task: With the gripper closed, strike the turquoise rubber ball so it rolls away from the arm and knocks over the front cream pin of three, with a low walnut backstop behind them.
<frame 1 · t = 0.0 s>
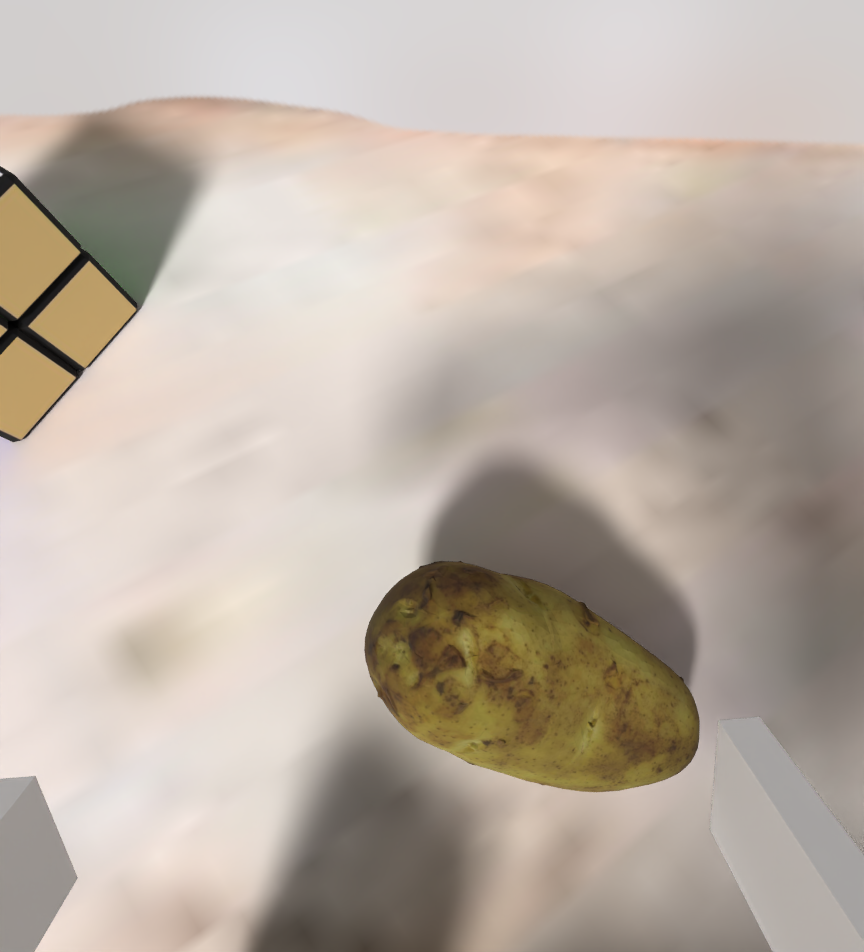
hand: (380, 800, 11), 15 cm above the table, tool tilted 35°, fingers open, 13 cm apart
potato: (521, 681, 26), on the table
puzzle cube: (25, 336, 33), on the table
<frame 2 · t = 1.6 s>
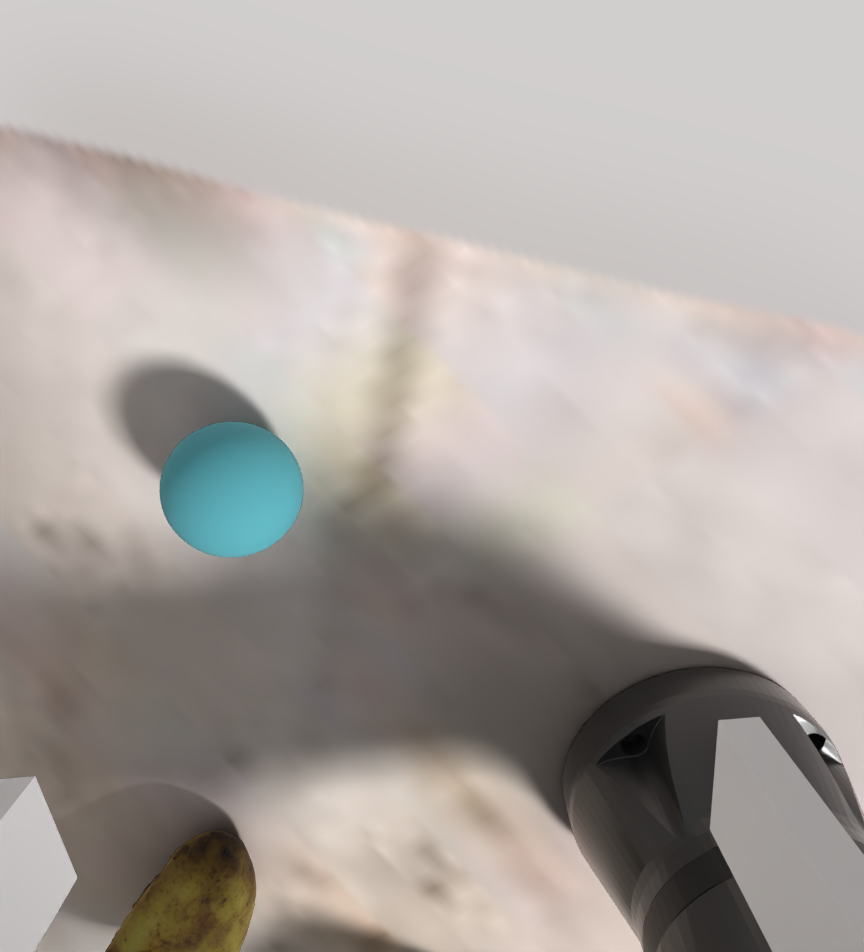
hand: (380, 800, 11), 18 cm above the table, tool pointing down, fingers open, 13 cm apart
potato: (204, 883, 37), on the table
ball: (234, 489, 26), on the table
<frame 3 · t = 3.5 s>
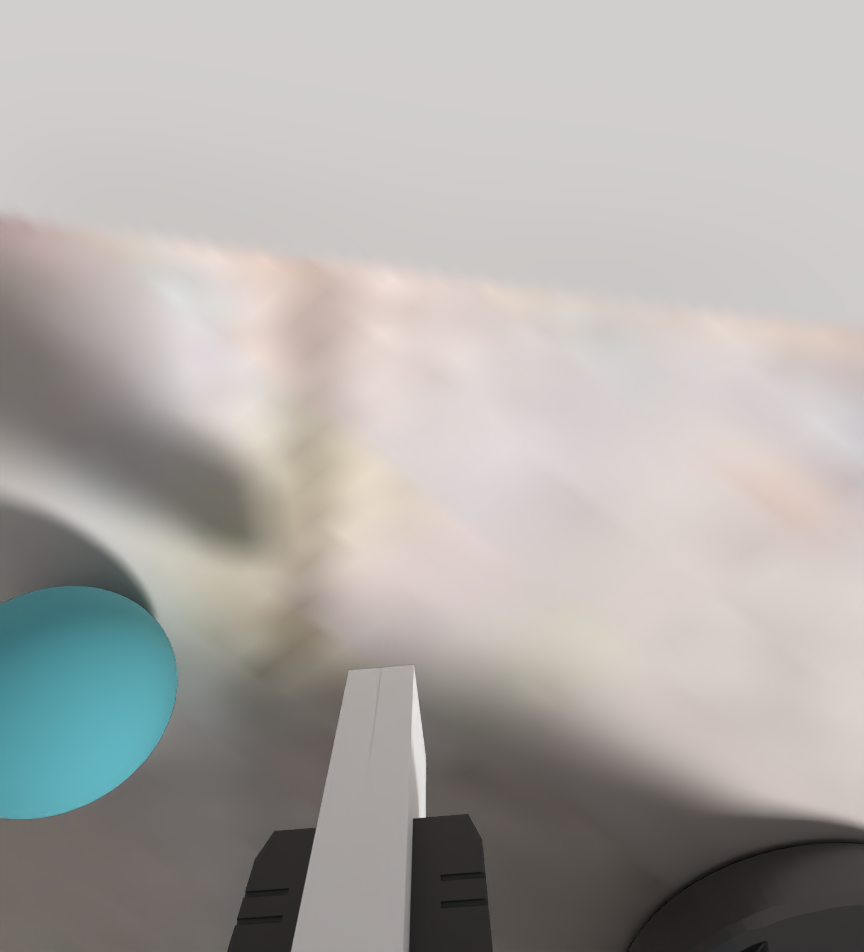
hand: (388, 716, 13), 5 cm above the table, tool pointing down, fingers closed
ball: (60, 694, 16), on the table
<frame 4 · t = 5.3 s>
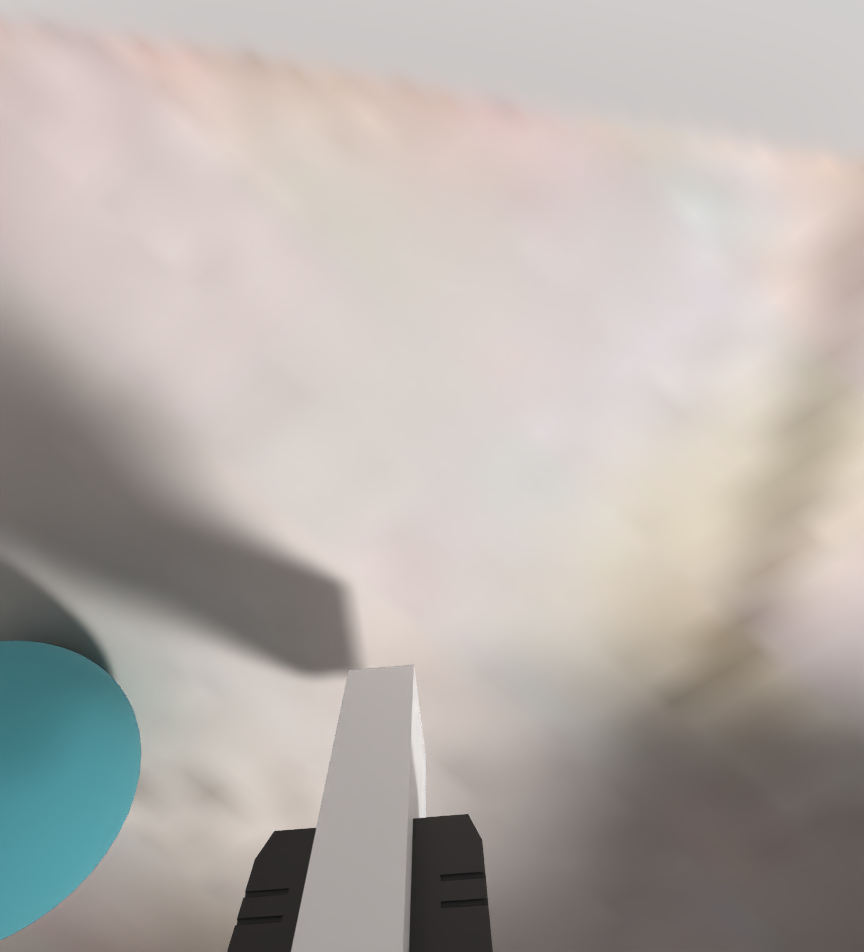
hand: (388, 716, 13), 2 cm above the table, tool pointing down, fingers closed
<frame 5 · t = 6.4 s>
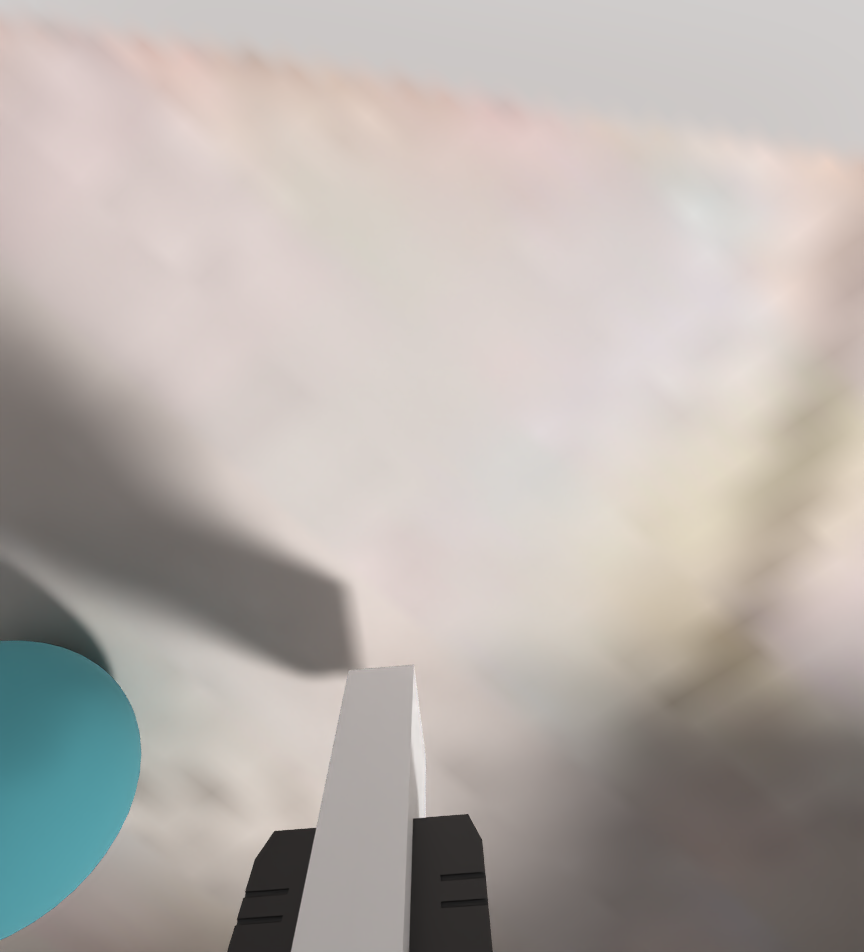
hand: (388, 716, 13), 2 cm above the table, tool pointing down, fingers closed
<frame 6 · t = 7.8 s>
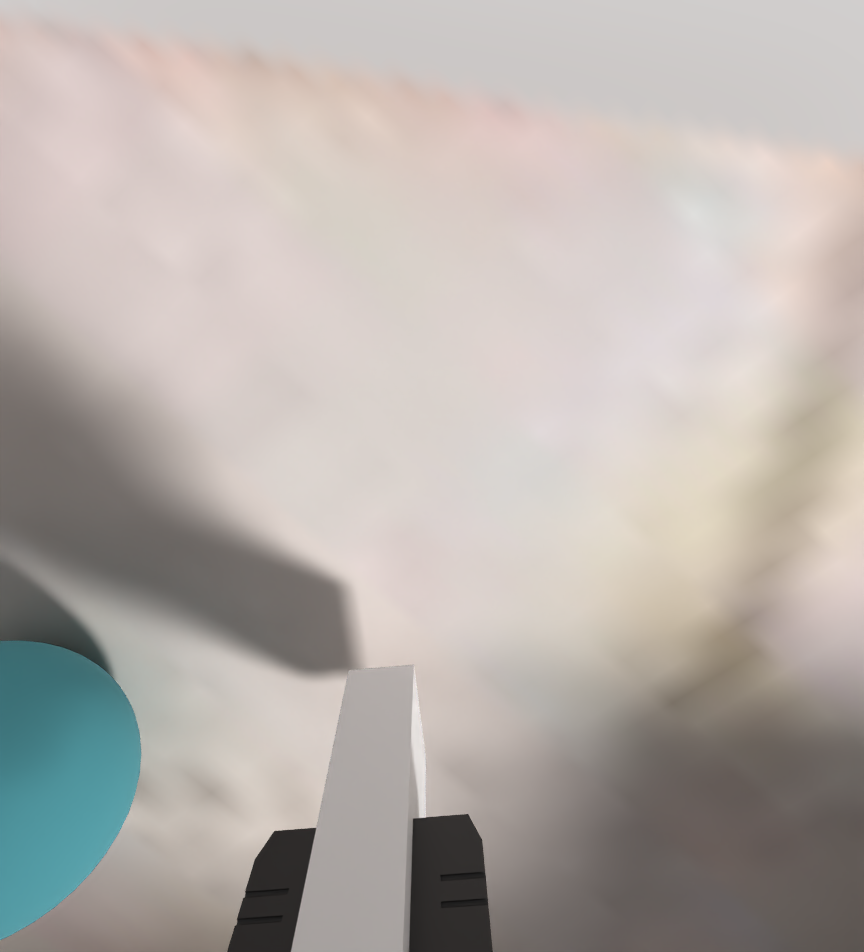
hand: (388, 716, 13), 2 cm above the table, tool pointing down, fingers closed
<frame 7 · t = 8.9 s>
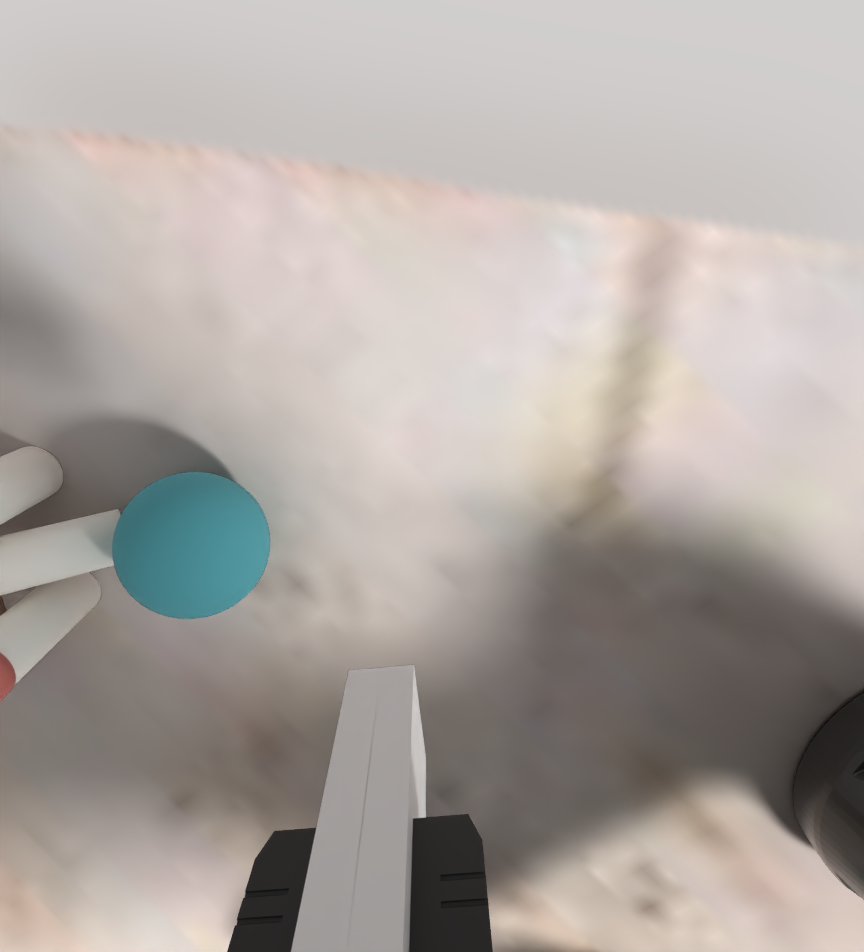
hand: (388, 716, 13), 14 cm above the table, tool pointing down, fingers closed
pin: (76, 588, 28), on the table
ball: (194, 544, 24), on the table
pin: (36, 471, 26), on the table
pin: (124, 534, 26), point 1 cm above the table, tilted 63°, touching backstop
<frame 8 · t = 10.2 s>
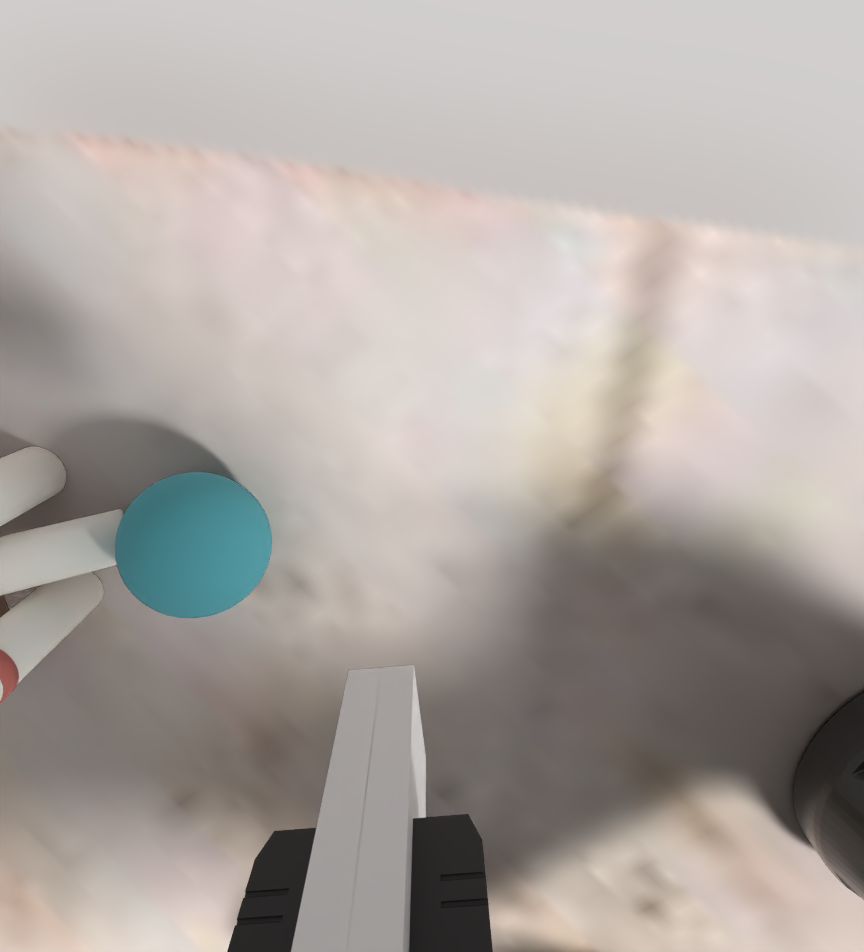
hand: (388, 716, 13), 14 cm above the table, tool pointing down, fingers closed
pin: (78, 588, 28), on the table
ball: (197, 543, 24), on the table
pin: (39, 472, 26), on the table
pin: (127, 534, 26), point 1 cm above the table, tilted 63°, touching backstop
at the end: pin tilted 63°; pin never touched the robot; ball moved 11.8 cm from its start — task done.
